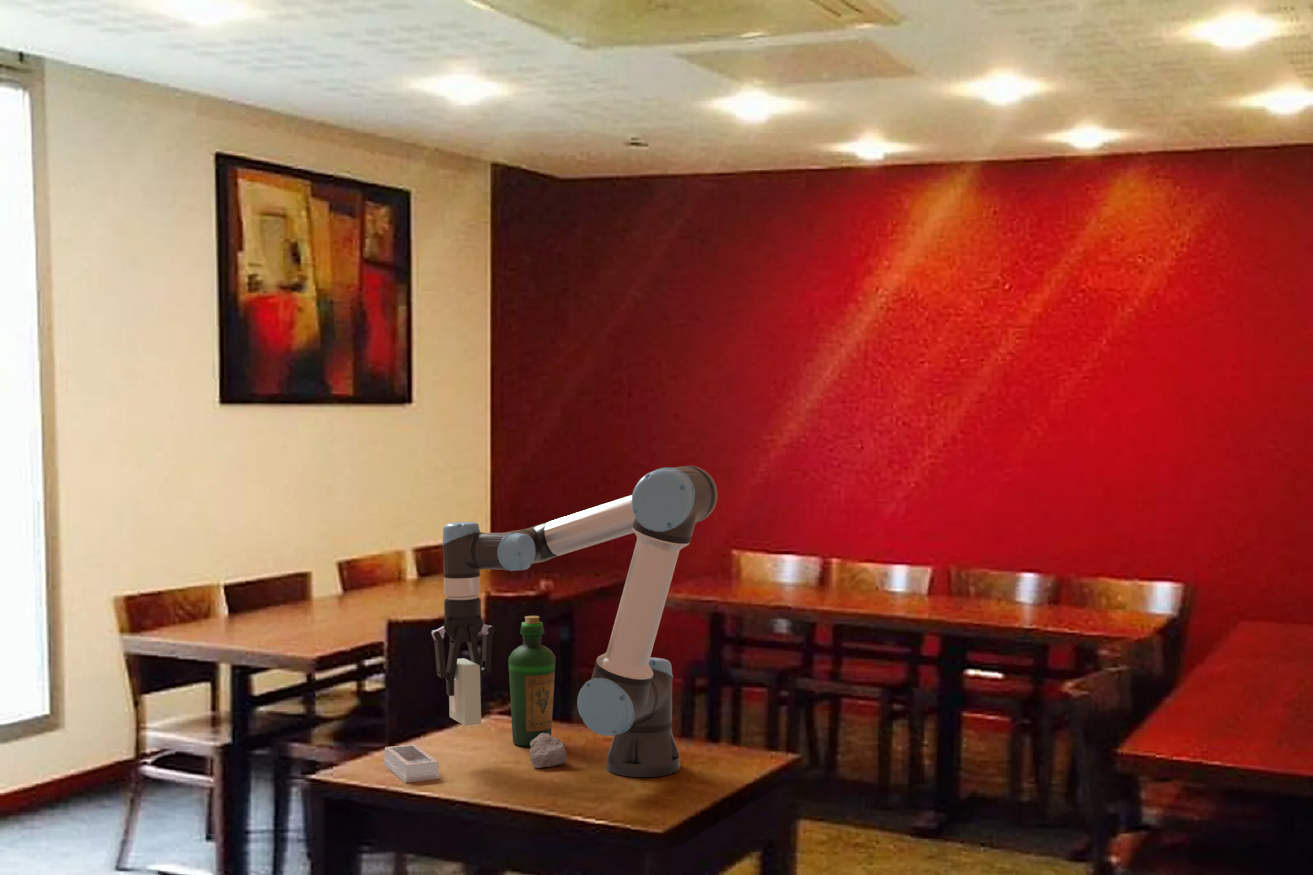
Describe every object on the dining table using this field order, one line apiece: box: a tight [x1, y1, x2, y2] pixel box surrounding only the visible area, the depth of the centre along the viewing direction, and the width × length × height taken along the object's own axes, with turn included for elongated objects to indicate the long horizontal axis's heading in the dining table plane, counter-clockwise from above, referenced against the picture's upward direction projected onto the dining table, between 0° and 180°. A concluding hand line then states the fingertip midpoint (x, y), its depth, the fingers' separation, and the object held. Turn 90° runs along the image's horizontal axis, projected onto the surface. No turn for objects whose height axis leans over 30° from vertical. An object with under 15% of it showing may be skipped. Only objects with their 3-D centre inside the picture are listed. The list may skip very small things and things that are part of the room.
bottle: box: [507, 615, 556, 748], centre depth 327 cm, size 11×11×28 cm
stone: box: [528, 733, 568, 769], centre depth 310 cm, size 10×8×6 cm
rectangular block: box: [448, 658, 482, 727], centre depth 307 cm, size 10×4×12 cm, turn 26°
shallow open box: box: [383, 743, 440, 784], centre depth 303 cm, size 16×7×4 cm, turn 26°
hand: (464, 709), depth 307 cm, fingers closed on rectangular block, 3 cm apart
